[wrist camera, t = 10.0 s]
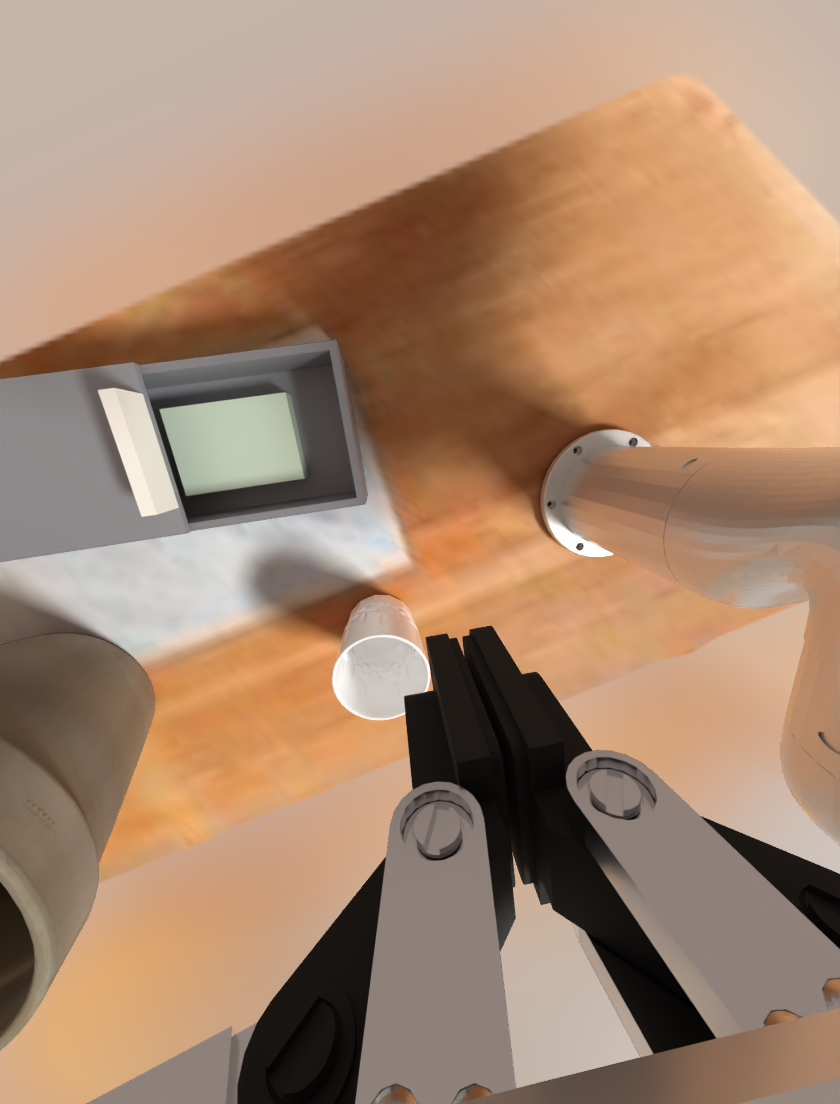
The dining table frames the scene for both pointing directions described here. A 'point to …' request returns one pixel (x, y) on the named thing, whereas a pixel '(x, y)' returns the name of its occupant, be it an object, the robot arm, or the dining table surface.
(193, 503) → the box
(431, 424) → the dining table surface
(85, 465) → the mailer lid
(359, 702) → the white cup
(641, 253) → the dining table surface
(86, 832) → the plant pot
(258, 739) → the dining table surface
